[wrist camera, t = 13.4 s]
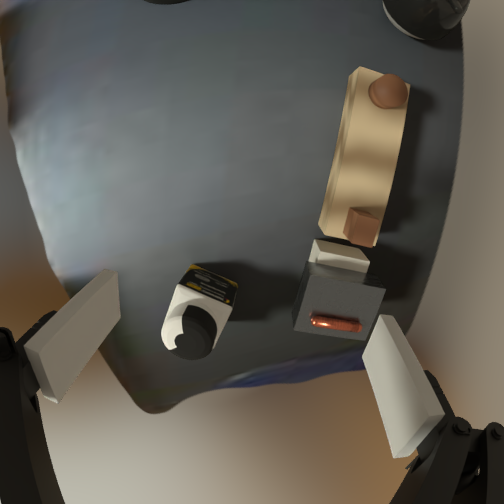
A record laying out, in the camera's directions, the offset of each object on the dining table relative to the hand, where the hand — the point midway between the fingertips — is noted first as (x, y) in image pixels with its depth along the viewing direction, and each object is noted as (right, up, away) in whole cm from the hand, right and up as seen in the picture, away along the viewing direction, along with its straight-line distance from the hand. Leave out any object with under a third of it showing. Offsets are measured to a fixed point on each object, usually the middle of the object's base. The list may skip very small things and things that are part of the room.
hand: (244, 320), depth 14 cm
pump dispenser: (+22, +36, +13) cm, 44 cm away
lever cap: (+10, -2, +22) cm, 24 cm away
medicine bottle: (-6, -3, +29) cm, 29 cm away
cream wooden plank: (+14, +15, +21) cm, 29 cm away
